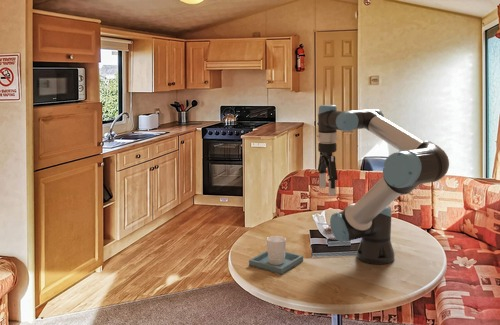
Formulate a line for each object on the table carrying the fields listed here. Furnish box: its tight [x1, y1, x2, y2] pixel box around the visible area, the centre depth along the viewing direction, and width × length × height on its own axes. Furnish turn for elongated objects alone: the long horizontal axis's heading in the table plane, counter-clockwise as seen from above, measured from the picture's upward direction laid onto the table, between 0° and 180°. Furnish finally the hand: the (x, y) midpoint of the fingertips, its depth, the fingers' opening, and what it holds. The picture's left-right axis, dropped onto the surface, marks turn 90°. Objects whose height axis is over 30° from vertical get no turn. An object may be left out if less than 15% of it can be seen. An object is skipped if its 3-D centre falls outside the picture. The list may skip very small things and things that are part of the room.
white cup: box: [266, 235, 287, 265], centre depth 194 cm, size 8×8×10 cm
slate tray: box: [248, 250, 304, 275], centre depth 195 cm, size 16×16×2 cm
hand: (327, 191), depth 202 cm, fingers open, 13 cm apart
